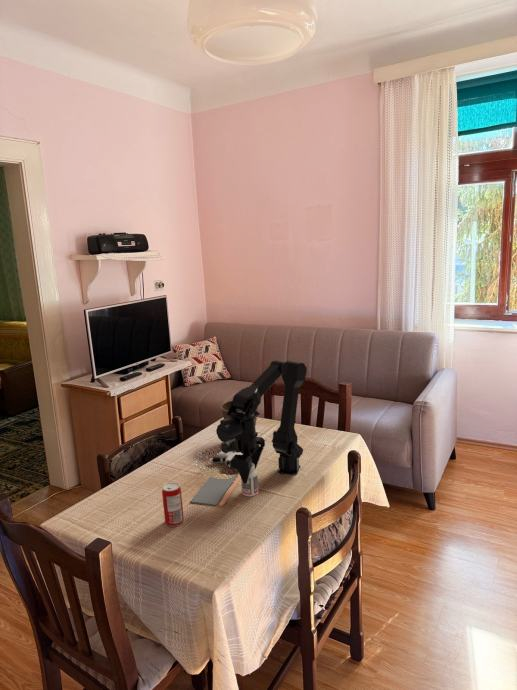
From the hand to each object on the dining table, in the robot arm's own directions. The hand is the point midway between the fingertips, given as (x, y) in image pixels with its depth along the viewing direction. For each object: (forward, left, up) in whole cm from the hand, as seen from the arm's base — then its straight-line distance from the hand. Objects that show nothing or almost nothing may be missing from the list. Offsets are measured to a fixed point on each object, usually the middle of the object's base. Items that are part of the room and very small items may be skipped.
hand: (249, 476), depth 160 cm
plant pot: (+16, -38, -6) cm, 42 cm away
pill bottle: (0, 0, -6) cm, 6 cm away
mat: (+13, 0, -6) cm, 14 cm away
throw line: (+7, 0, -6) cm, 9 cm away
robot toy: (+13, -19, -6) cm, 24 cm away
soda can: (+17, +21, -6) cm, 28 cm away
